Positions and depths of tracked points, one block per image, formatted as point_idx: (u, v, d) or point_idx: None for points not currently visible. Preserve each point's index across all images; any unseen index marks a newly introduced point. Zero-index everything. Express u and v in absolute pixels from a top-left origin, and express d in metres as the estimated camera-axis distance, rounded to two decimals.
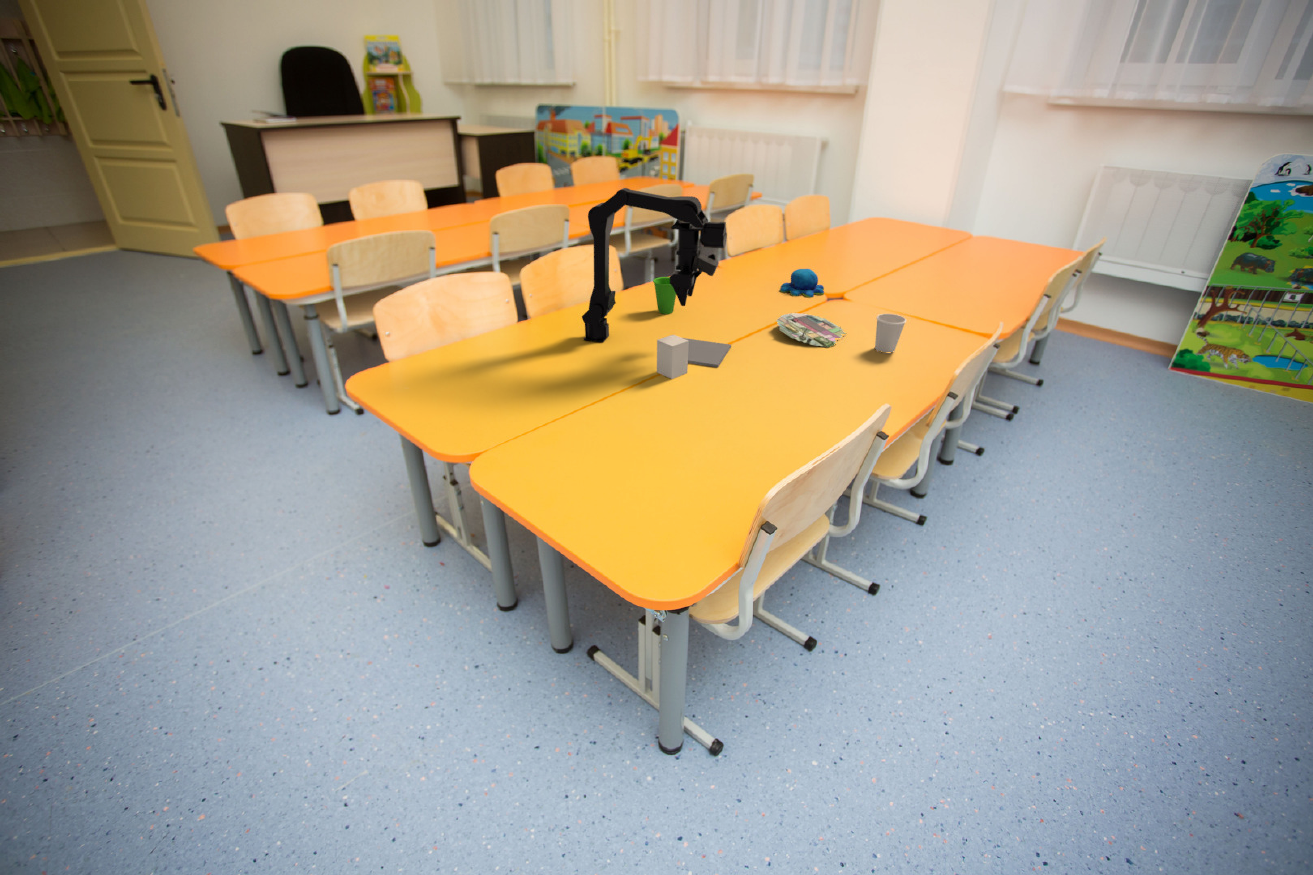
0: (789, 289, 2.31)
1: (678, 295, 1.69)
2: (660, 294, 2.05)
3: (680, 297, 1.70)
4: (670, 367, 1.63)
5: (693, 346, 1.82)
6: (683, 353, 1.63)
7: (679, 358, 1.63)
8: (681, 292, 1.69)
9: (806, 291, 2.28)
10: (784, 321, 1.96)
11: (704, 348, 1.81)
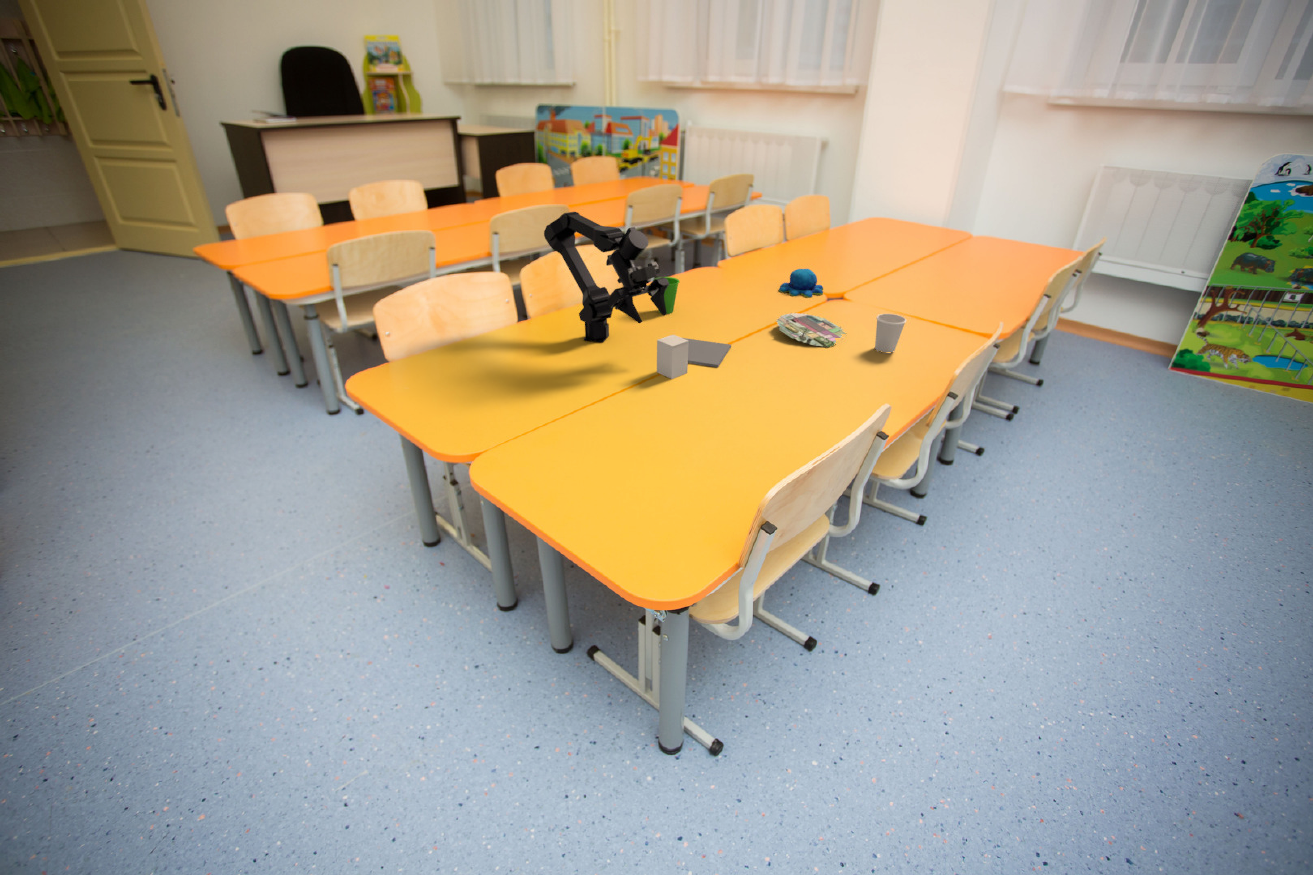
0: (788, 289, 2.31)
1: (629, 315, 1.64)
2: None
3: (632, 316, 1.64)
4: (670, 367, 1.63)
5: (693, 346, 1.82)
6: (683, 353, 1.63)
7: (679, 358, 1.63)
8: (629, 310, 1.63)
9: (805, 291, 2.28)
10: (784, 321, 1.96)
11: (704, 348, 1.81)
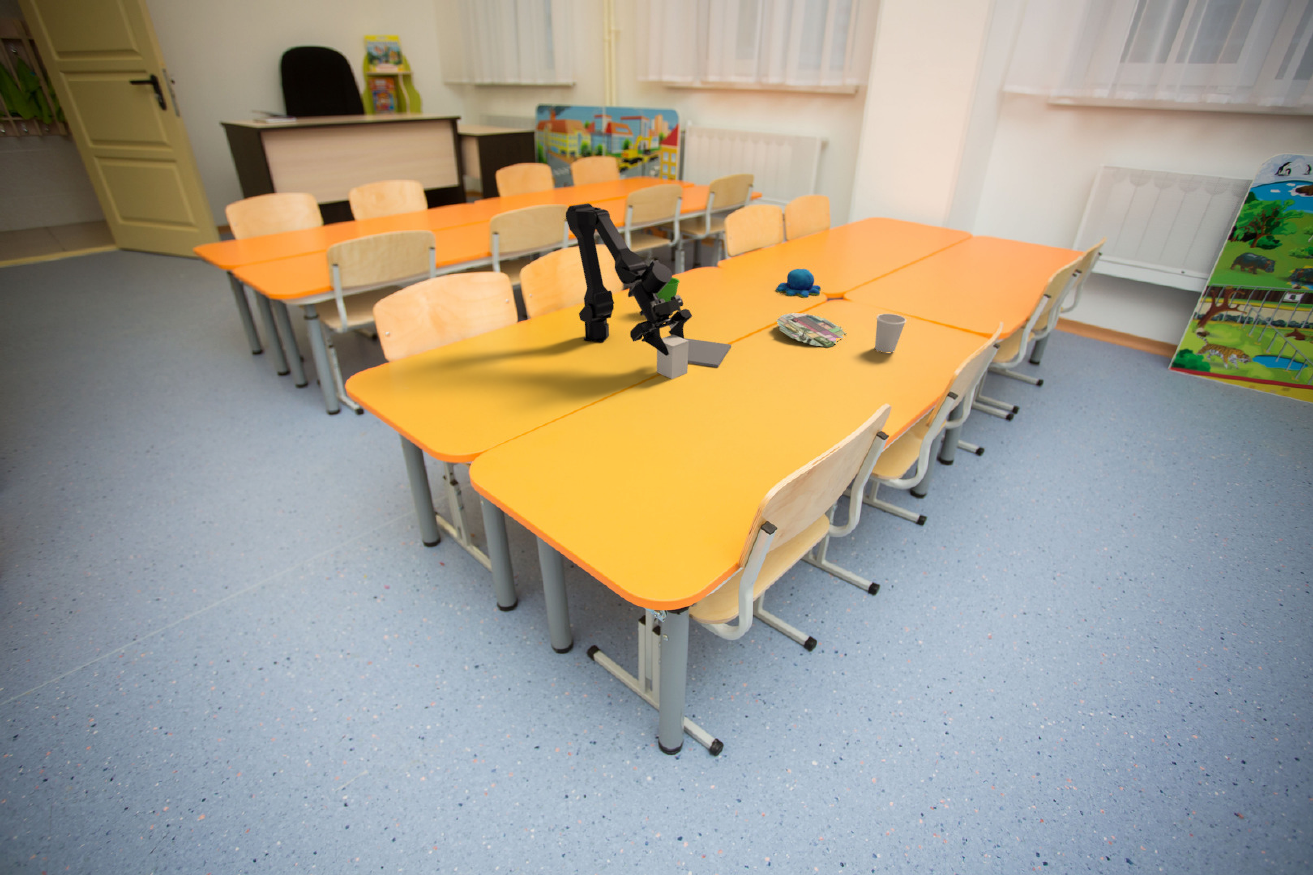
0: (785, 289, 2.31)
1: (656, 347, 1.62)
2: (660, 294, 2.05)
3: (658, 348, 1.62)
4: (670, 367, 1.63)
5: (693, 346, 1.82)
6: (683, 353, 1.63)
7: (679, 358, 1.63)
8: (656, 343, 1.62)
9: (801, 291, 2.28)
10: (784, 321, 1.96)
11: (704, 348, 1.81)
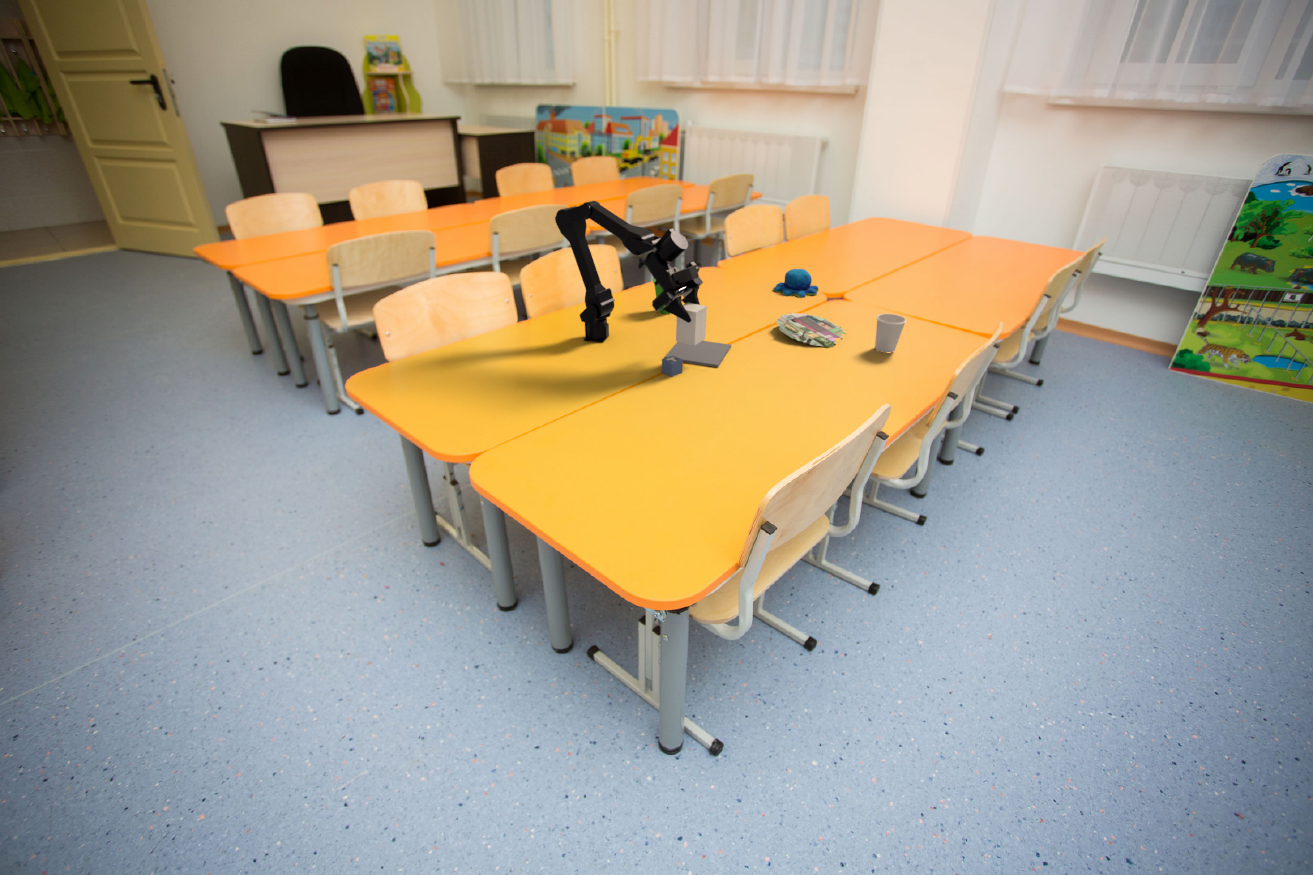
0: (782, 289, 2.31)
1: (678, 315, 1.64)
2: None
3: (680, 316, 1.64)
4: (693, 334, 1.65)
5: (693, 346, 1.82)
6: (703, 319, 1.66)
7: (700, 324, 1.66)
8: (677, 310, 1.63)
9: (798, 291, 2.28)
10: (784, 321, 1.96)
11: (704, 348, 1.81)
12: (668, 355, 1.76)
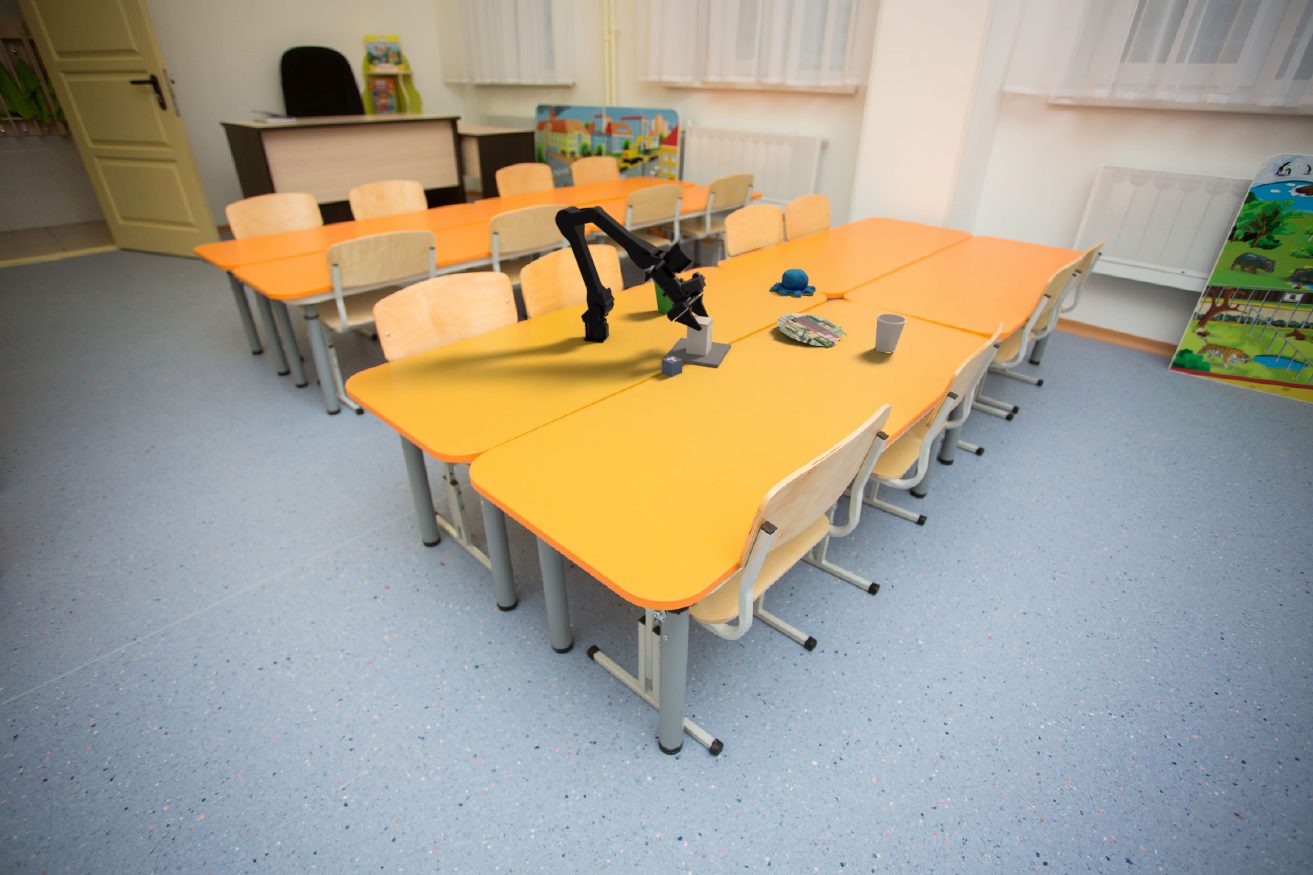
0: (779, 288, 2.32)
1: (688, 325, 1.71)
2: (660, 294, 2.05)
3: (691, 325, 1.71)
4: (704, 345, 1.75)
5: None
6: (710, 330, 1.76)
7: (709, 335, 1.75)
8: (688, 320, 1.70)
9: (794, 291, 2.28)
10: (784, 321, 1.96)
11: None
12: (668, 355, 1.76)
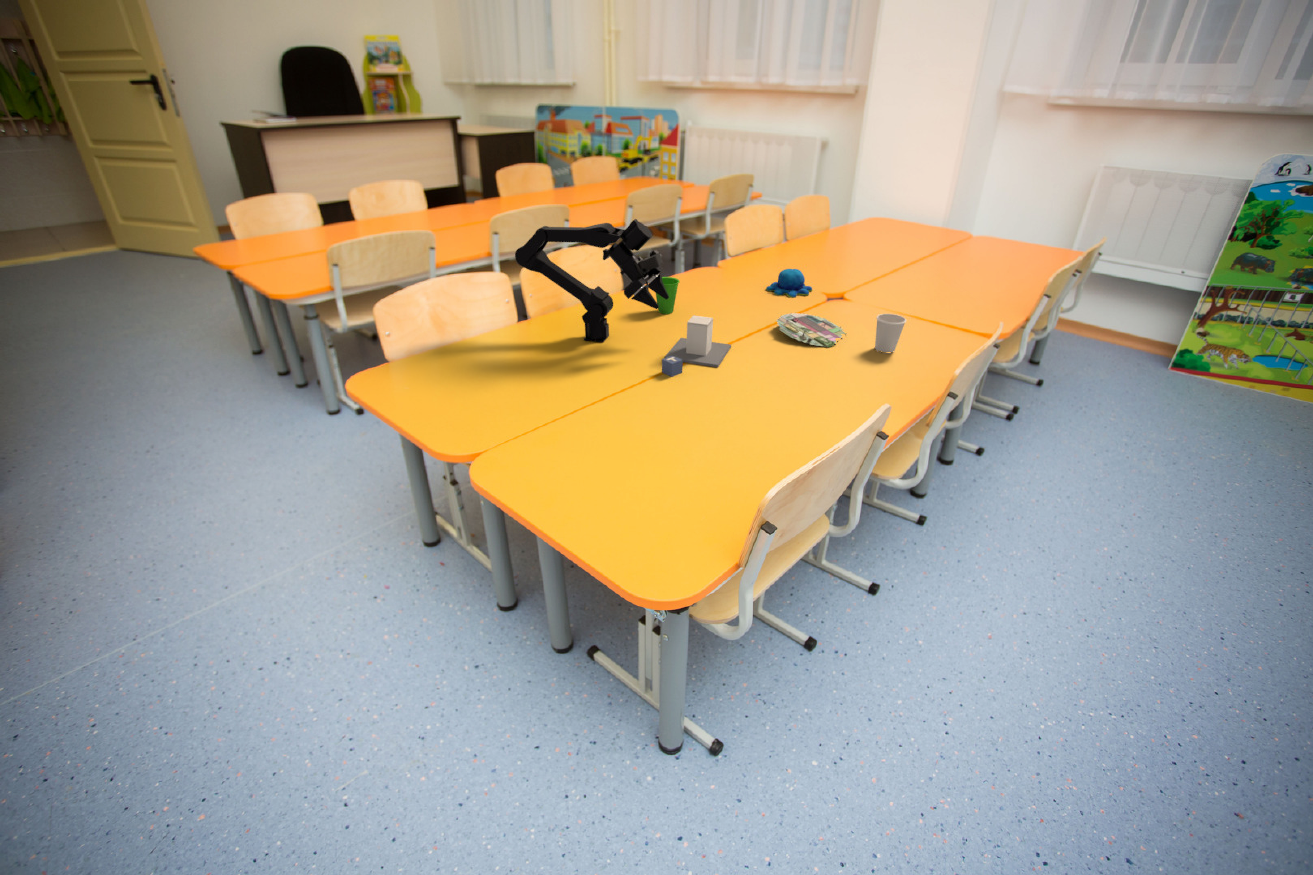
0: (774, 288, 2.32)
1: (646, 302, 1.72)
2: None
3: (648, 303, 1.72)
4: (704, 345, 1.75)
5: None
6: (710, 330, 1.76)
7: (709, 335, 1.75)
8: (645, 298, 1.72)
9: (789, 291, 2.28)
10: (784, 321, 1.96)
11: None
12: (668, 355, 1.76)
